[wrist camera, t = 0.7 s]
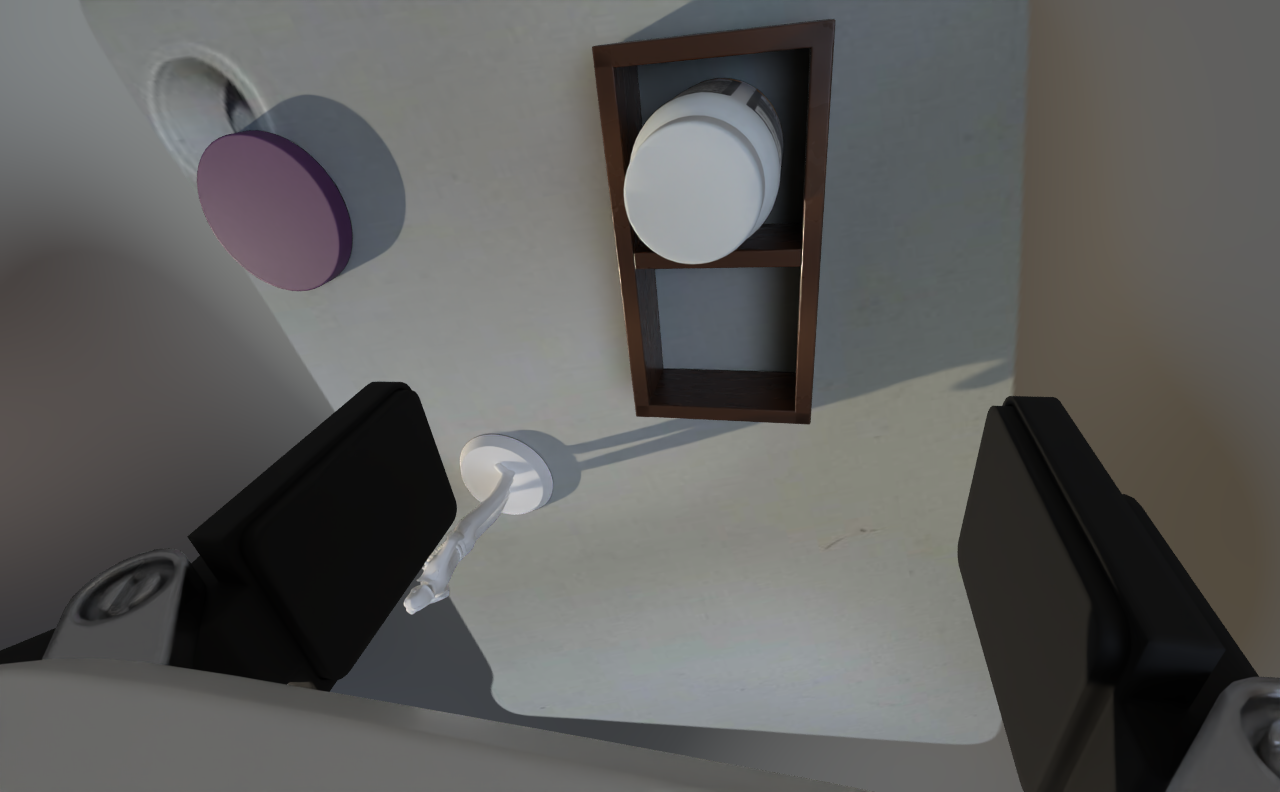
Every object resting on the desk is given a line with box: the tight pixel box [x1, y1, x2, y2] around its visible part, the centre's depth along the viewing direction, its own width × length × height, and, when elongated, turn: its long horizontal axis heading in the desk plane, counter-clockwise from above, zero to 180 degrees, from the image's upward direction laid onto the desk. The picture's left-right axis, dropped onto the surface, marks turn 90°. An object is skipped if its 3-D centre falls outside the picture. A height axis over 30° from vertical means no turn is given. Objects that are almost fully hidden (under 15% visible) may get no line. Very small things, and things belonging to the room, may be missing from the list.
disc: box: [197, 131, 352, 291], centre depth 35 cm, size 9×9×1 cm
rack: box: [592, 19, 835, 424], centre depth 28 cm, size 17×9×4 cm, turn 6°
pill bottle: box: [624, 78, 783, 264], centre depth 24 cm, size 6×6×10 cm
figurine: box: [404, 434, 553, 614], centre depth 38 cm, size 7×7×12 cm
